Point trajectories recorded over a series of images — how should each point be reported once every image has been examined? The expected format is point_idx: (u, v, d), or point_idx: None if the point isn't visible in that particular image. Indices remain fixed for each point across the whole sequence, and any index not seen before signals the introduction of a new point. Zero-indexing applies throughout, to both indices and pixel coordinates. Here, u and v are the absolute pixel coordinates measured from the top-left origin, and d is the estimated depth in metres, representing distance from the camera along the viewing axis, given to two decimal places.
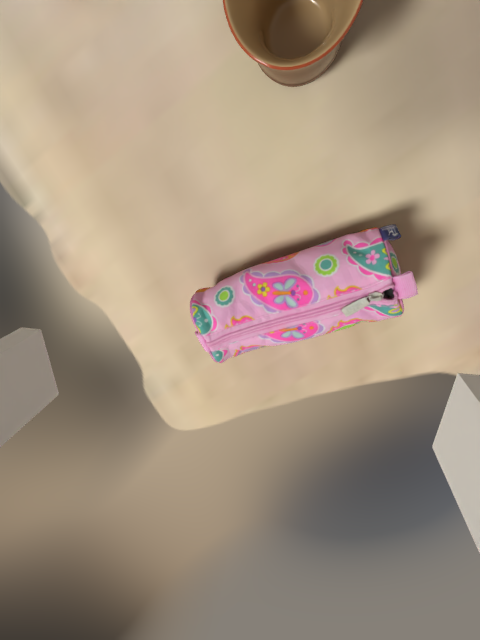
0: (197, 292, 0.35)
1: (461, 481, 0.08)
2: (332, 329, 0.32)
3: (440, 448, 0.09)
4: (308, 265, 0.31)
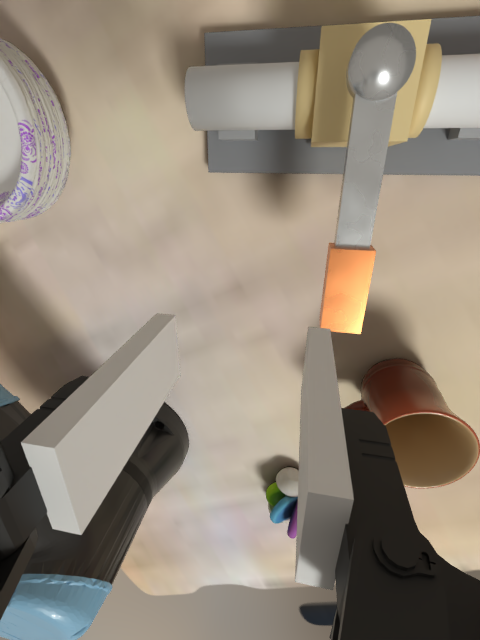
0: None
1: (302, 407, 0.11)
2: None
3: None
4: None
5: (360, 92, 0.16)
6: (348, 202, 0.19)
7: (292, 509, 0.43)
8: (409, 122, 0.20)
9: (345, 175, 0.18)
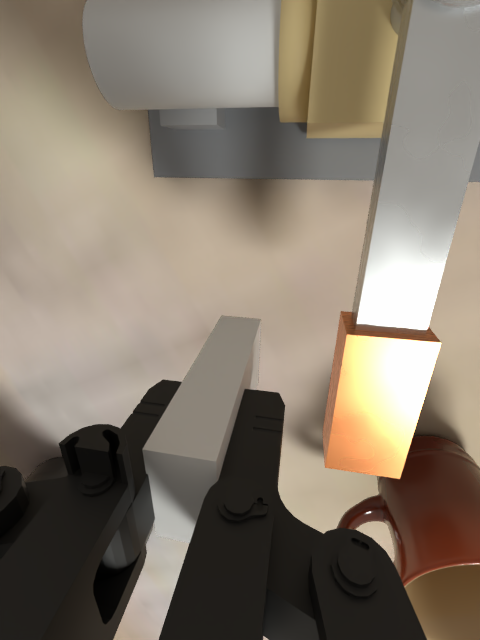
0: None
1: None
2: None
3: None
4: None
5: None
6: (386, 244, 0.09)
7: None
8: None
9: (381, 188, 0.08)
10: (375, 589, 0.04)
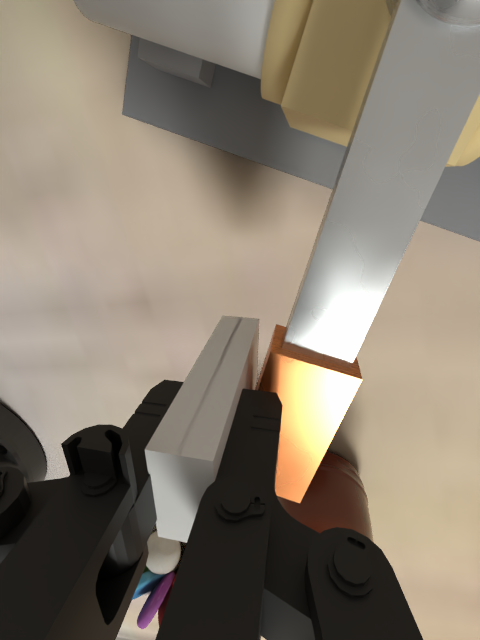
0: None
1: None
2: None
3: None
4: None
5: None
6: (326, 266, 0.08)
7: (154, 585, 0.34)
8: (471, 130, 0.10)
9: (332, 204, 0.08)
10: (371, 588, 0.04)
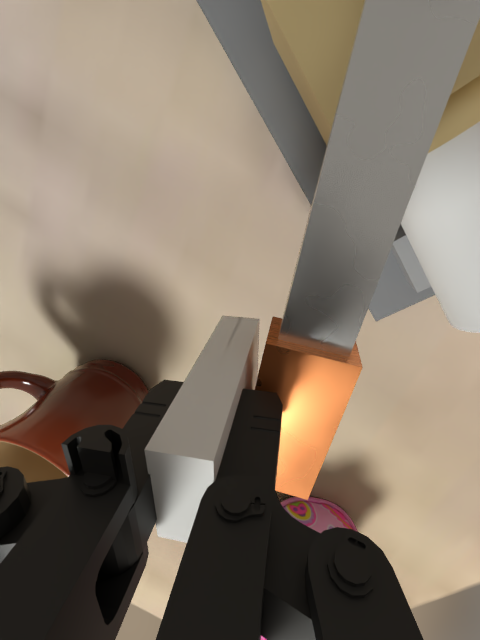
0: None
1: None
2: None
3: None
4: None
5: None
6: (317, 251, 0.08)
7: None
8: None
9: (319, 186, 0.07)
10: (371, 588, 0.04)
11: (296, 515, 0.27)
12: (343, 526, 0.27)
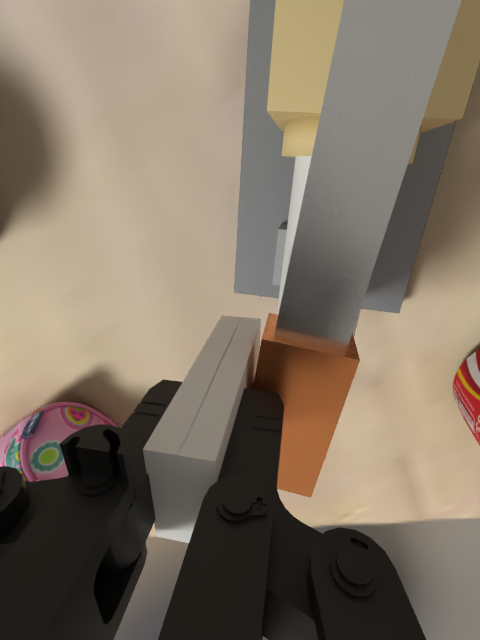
0: None
1: None
2: None
3: None
4: None
5: None
6: (310, 244, 0.08)
7: None
8: (298, 108, 0.11)
9: (308, 179, 0.07)
10: (374, 589, 0.04)
11: (70, 417, 0.27)
12: None
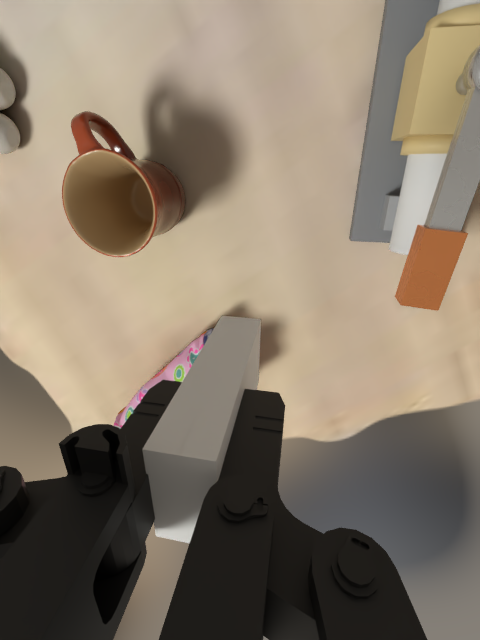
0: (118, 413, 0.46)
1: None
2: None
3: None
4: (171, 376, 0.40)
5: None
6: (449, 186, 0.21)
7: None
8: (424, 132, 0.23)
9: (450, 161, 0.20)
10: (375, 589, 0.04)
11: None
12: None
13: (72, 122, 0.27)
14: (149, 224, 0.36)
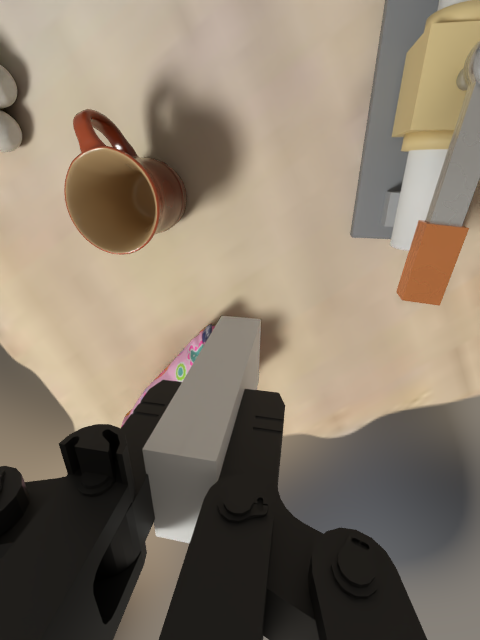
0: (125, 416, 0.46)
1: None
2: None
3: None
4: (173, 374, 0.40)
5: None
6: (450, 181, 0.21)
7: None
8: (425, 128, 0.23)
9: (451, 156, 0.20)
10: (375, 589, 0.04)
11: None
12: None
13: (74, 120, 0.27)
14: (151, 222, 0.36)
